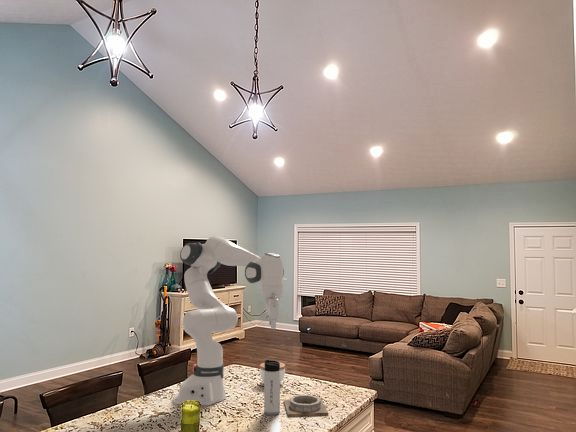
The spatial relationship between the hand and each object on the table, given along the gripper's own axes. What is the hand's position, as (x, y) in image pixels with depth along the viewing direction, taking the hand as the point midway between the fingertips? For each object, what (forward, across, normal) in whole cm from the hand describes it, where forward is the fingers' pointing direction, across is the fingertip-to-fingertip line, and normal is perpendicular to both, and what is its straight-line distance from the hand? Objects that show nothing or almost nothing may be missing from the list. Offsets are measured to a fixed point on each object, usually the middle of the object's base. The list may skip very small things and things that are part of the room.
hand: (272, 327), depth 174 cm
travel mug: (+34, 0, 0) cm, 34 cm away
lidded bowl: (+34, +38, -3) cm, 51 cm away
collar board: (+34, +3, -14) cm, 36 cm away
